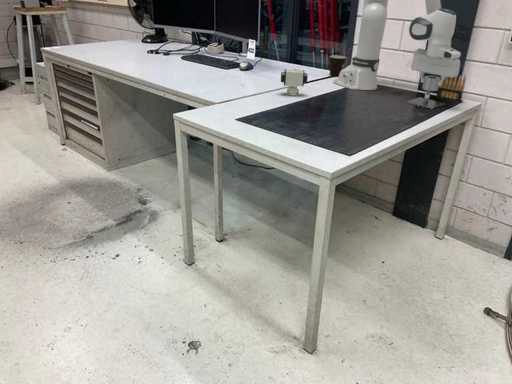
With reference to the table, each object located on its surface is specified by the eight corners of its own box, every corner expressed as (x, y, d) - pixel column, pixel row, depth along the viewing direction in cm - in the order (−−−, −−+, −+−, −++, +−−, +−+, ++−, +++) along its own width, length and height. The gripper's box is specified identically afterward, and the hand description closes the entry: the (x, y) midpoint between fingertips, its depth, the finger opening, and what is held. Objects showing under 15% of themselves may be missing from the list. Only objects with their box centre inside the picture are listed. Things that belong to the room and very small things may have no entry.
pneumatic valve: (305, 96, 188) (308, 70, 182) (280, 95, 188) (281, 68, 182) (304, 93, 192) (307, 67, 187) (279, 92, 192) (281, 66, 187)
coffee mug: (334, 73, 234) (336, 54, 229) (346, 76, 228) (349, 57, 224) (320, 75, 227) (322, 56, 223) (332, 78, 222) (335, 59, 217)
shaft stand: (406, 103, 185) (408, 91, 182) (419, 98, 192) (422, 87, 190) (431, 109, 177) (434, 97, 175) (444, 105, 185) (447, 93, 182)
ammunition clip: (435, 98, 194) (442, 72, 189) (436, 97, 196) (443, 71, 190) (459, 102, 189) (467, 76, 184) (460, 101, 191) (468, 75, 185)
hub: (420, 88, 182) (422, 77, 179) (426, 86, 185) (429, 75, 183) (432, 91, 178) (435, 79, 175) (439, 89, 181) (442, 77, 179)
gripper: (411, 48, 179) (405, 80, 185) (458, 55, 165) (449, 89, 172) (418, 47, 182) (412, 78, 189) (465, 53, 169) (456, 87, 176)
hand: (430, 84), depth 180 cm, fingers closed on hub, 6 cm apart
